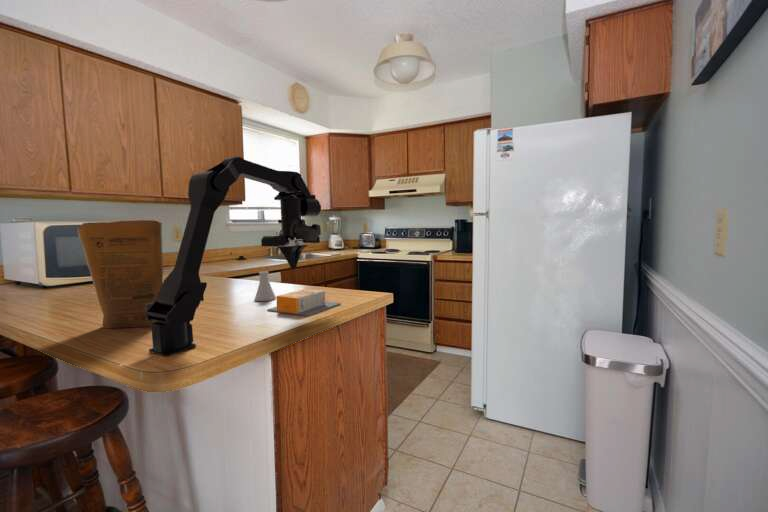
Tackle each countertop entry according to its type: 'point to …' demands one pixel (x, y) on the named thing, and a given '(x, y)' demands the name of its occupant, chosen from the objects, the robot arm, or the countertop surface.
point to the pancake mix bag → (124, 268)
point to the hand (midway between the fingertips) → (293, 268)
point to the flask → (264, 288)
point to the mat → (311, 311)
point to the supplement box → (300, 300)
